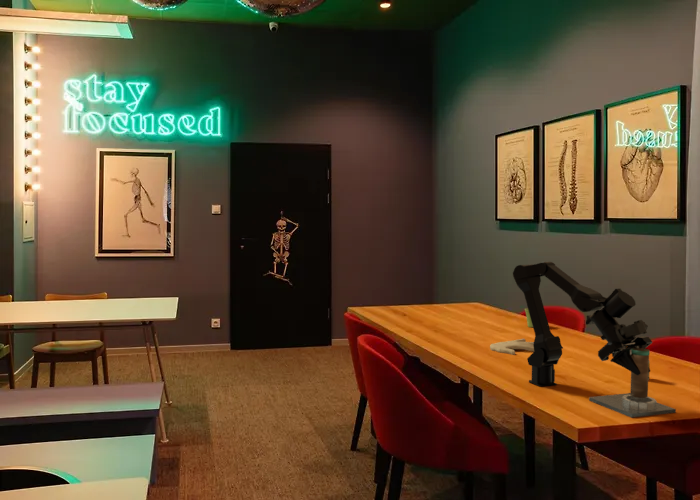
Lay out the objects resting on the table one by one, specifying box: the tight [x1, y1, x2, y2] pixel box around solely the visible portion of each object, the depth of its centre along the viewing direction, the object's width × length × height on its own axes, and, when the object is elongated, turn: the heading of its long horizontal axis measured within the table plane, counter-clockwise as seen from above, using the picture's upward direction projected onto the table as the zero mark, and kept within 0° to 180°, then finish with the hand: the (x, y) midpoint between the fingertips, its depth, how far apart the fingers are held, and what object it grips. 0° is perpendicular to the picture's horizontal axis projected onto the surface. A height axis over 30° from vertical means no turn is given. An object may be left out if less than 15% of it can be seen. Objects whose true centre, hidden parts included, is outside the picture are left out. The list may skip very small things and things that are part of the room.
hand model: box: [489, 338, 534, 356], centre depth 260 cm, size 19×5×20 cm
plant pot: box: [524, 307, 533, 328], centre depth 318 cm, size 9×9×9 cm
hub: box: [588, 392, 677, 419], centre depth 182 cm, size 15×17×3 cm
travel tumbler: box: [629, 348, 650, 398], centre depth 179 cm, size 5×5×13 cm
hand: (644, 373), depth 178 cm, fingers closed on travel tumbler, 4 cm apart
